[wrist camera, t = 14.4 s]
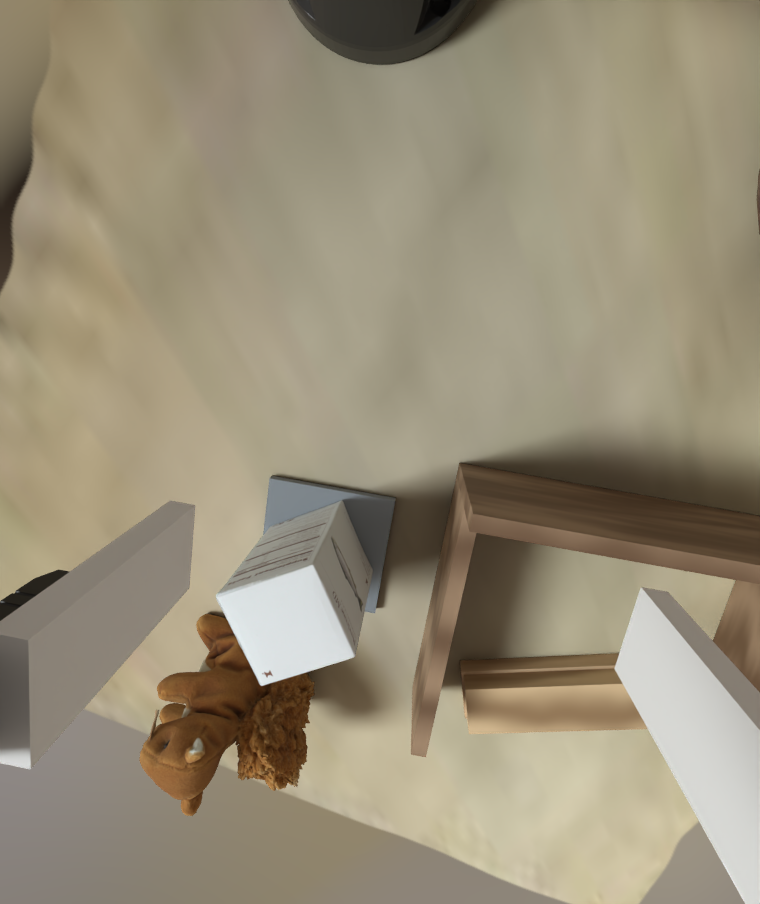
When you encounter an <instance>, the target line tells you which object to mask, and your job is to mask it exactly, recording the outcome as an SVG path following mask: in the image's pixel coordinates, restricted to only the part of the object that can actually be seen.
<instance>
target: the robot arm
mask: <svg viewBox="0 0 760 904" xmlns="http://www.w3.org/2000/svg"><path fill="white" fill-rule="evenodd" d="M288 1H289V3H290V5H291V7H292V9H293V10H294V12H295V14H296V15H297V17H298V18H299V20H300V21H301V23H302V24H303V25H304V26H305V28H306V29H307V30H308V31H309V32H310V33H311V34H312V35H313V36H314V37H315V38H316V39H317V40H318V41H319V42H320V43H322V44H323V45H324V46H326V47H327V48H329V49H330V50H332V51H333V52H335V53H337V54H339V55H341V56H343V57H345V58H348V59H351V60H354V61H357V62H362V63H367V64H393V63H399V62H403V61H407V60H410V59H413V58H415V57H418V56H420V55H422V54H424V53H426V52H428V51H430V50H431V49H433V48H434V47H436V46H437V45H439V44H440V43H441V42H443V41H444V40H445V39H446V38H448V37H449V36H450V35H451V34H452V33H453V32H454V31H455V30H456V29H457V28H458V27H459V25H460V24H461V23H462V22H463V21H464V19H465V18H466V17H467V15H468V14H469V13H470V11H471V10H472V8H473V7H474V5H475V3H476V1H477V0H288ZM194 516H195V505H191V504H186V503H180V502H175V501H169V502H168V503H166V504H165V505H163V506H162V507H160V508H159V509H158V510H156V511H155V512H153V513H152V514H151V515H149V516H148V517H146V518H145V519H144V520H142V521H141V522H139V523H138V524H136V525H135V526H134V527H132V528H131V529H129V530H128V531H127V532H125V533H124V534H122V535H121V536H120V537H118V538H117V539H115V540H114V541H113V542H111V543H110V544H108V545H107V546H105V547H104V548H103V549H101V550H100V551H98V552H97V553H96V554H94V555H93V556H91V557H90V558H89V559H87V560H86V561H84V562H83V563H81V564H80V565H79V566H77V567H76V568H74V569H73V570H72V571H70V572H68V571H63V570H56V571H54V572H51V573H48V574H46V575H43V576H40V577H37V578H35V579H33V580H31V581H30V582H28V583H27V584H25V585H24V586H22V587H21V588H19V589H18V590H16V592H15V594H13V593H12V594H10V595H9V596H7V597H6V598H4V599H3V600H1V601H0V763H2V764H7V765H12V766H18V767H22V768H27V769H31V768H32V767H33V766H34V765H35V764H36V763H37V761H38V760H39V759H40V758H41V757H42V756H43V755H44V753H45V752H46V751H47V750H48V749H49V748H50V747H51V745H52V744H53V743H54V742H55V741H56V740H57V739H58V737H59V736H60V735H61V734H62V733H63V732H64V731H65V729H66V728H67V727H68V726H69V725H70V724H71V723H72V721H73V720H74V719H75V718H76V717H77V716H78V715H79V713H80V712H81V711H82V710H83V709H84V708H85V707H86V705H87V704H88V703H89V702H90V701H91V700H92V699H93V697H94V696H95V695H96V694H97V693H98V692H99V691H100V689H101V688H102V687H103V686H104V685H105V684H106V683H107V681H108V680H109V679H110V678H111V677H112V676H113V675H114V673H115V672H116V671H117V670H118V669H119V668H120V667H121V665H122V664H123V663H124V662H125V661H126V660H127V659H128V657H129V656H130V655H131V654H132V653H133V652H134V651H135V649H136V648H137V647H138V646H139V645H140V644H141V643H142V641H143V640H144V639H145V638H146V637H147V636H148V635H149V633H150V632H151V631H152V630H153V629H154V628H155V627H156V625H157V624H158V623H159V622H160V621H161V620H162V619H163V617H164V616H165V615H166V614H167V613H168V612H169V611H170V609H171V608H172V607H173V606H174V605H175V604H176V603H177V601H178V600H179V599H180V598H181V597H182V596H183V595H184V593H185V592H186V591H187V590H188V589H189V585H190V571H191V557H192V544H193V530H194ZM614 669H615V671H616V672H617V674H618V676H619V678H620V680H621V681H622V683H623V685H624V687H625V689H626V690H627V692H628V694H629V696H630V698H631V699H632V701H633V703H634V705H635V707H636V708H637V710H638V712H639V714H640V716H641V717H642V719H643V721H644V723H645V725H646V726H647V728H648V730H649V732H650V734H651V735H652V737H653V739H654V741H655V743H656V744H657V746H658V748H659V750H660V751H661V753H662V755H663V757H664V759H665V760H666V762H667V764H668V766H669V768H670V769H671V771H672V773H673V775H674V777H675V778H676V780H677V782H678V784H679V786H680V787H681V789H682V791H683V793H684V795H685V796H686V798H687V800H688V802H689V804H690V805H691V807H692V809H693V811H694V813H695V814H696V816H697V818H698V820H699V822H700V823H701V825H702V827H703V829H704V831H705V832H706V834H707V836H708V838H709V839H710V841H711V843H712V845H713V847H714V849H715V850H716V852H717V854H718V856H719V857H720V859H721V861H722V863H723V865H724V866H725V868H726V870H727V872H728V874H729V876H730V877H731V879H732V881H733V883H734V884H735V886H736V888H737V890H738V892H739V893H740V895H741V897H742V899H743V900H744V902H745V904H760V692H759V691H758V690H757V689H756V688H755V687H754V686H753V685H752V684H751V682H750V681H749V680H748V679H747V678H746V677H745V676H744V675H743V674H742V673H741V671H740V670H739V669H738V668H737V667H736V666H735V665H734V664H733V663H732V662H731V661H730V659H729V658H728V657H727V656H726V655H725V654H724V653H723V652H722V651H721V650H720V648H719V647H718V646H717V645H716V644H715V643H714V642H713V641H712V640H711V639H710V638H709V636H708V635H707V634H706V633H705V632H704V631H703V630H702V629H701V628H700V627H699V625H698V624H697V623H696V622H695V621H694V620H693V619H692V618H691V617H690V616H689V614H688V613H687V612H686V611H685V610H684V609H683V608H682V607H681V606H680V605H679V604H678V602H677V601H676V600H675V599H674V598H673V597H672V596H671V595H670V594H669V593H668V592H665V591H660V590H655V589H649V588H644V587H641V589H640V592H639V595H638V598H637V601H636V604H635V607H634V610H633V613H632V616H631V619H630V622H629V625H628V628H627V631H626V635H625V638H624V641H623V644H622V647H621V650H620V653H619V656H618V659H617V662H616V665H615V668H614Z"/></svg>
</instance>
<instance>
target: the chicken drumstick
mask: <svg viewBox="0 0 760 904" xmlns="http://www.w3.org/2000/svg"><path fill="white" fill-rule="evenodd" d="M757 208H758V222H759V234H760V171H759V176H758V190H757Z"/></svg>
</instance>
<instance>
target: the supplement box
mask: <svg viewBox="0 0 760 904" xmlns="http://www.w3.org/2000/svg"><path fill="white" fill-rule="evenodd" d="M372 573H373V569H372V567H371V565H370V563H369V561H368V559H367V557H366V555H365V553H364V551H363V548H362V546H361V544H360V542H359V539H358V537H357V535H356V532H355V530H354V527H353V525H352V523H351V520H350V518H349V515H348V513H347V510H346V508H345V505H344V502H343V501H339V502H337V503H334V504H331V505H328V506H326V507H323V508H320V509H317V510H314V511H312V512H309V513H306V514H303V515H300V516H298V517H295V518H292V519H289V520H286V521H284V522H281V523H278V524H275V525H273V526H271V527H270V528H269V529H268V530H267V531H266V533H265V534H264V535H263V536H262V538H261V539H260V540H259V541H258V543H257V544H256V545H255V547H254V548H253V549H252V550H251V552H250V553H249V554H248V556H247V557H246V558H245V559H244V561H243V562H242V563H241V565H240V566H239V567H238V569H237V570H236V571H235V573H234V574H233V575H232V576H231V578H230V579H229V580H228V582H227V583H226V584H225V585H224V586H223V588H222V589H221V590H220V591H219V592H218V593H217V594H216V599H217V601H218V603H219V605H220V607H221V609H222V611H223V613H224V614H225V616H226V619H227V621H228V622H229V624H230V626H231V628H232V630H233V632H234V634H235V636H236V638H237V640H238V643H239V645H240V647H241V648H242V650H243V652H244V654H245V656H246V658H247V660H248V662H249V664H250V666H251V668H252V670H253V672H254V674H255V675H256V677H257V679H258V682H259V684H260V685H261V686H264V685H267V684H270V683H273V682H276V681H280V680H283V679H286V678H289V677H293V676H296V675H299V674H303V673H306V672H309V671H312V670H316V669H319V668H322V667H325V666H329V665H332V664H335V663H338V662H342V661H345V660H348V659H351V658H353V657H355V656H356V650H357V645H358V640H359V635H360V631H361V626H362V621H363V616H364V611H365V607H366V602H367V597H368V593H369V588H370V583H371V578H372Z"/></svg>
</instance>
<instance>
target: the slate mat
mask: <svg viewBox="0 0 760 904" xmlns="http://www.w3.org/2000/svg"><path fill="white" fill-rule="evenodd" d="M339 501H343V502H344V505H345V508H346V510H347V513H348V515H349V518H350V520H351V523H352V525H353V527H354V530H355V532H356V535H357V537H358V539H359V542H360V544H361V546H362V548H363V551H364V553H365V555H366V557H367V559H368V561H369V563H370V565H371V567H372V569H373V573H372V578H371V583H370V588H369V593H368V597H367V602H366V607H365V612H371V613H375V610H376V605H377V599H378V594H379V588H380V582H381V577H382V571H383V566H384V560H385V555H386V549H387V543H388V538H389V532H390V527H391V521H392V516H393V510H394V504H395V498H394V497H388V496H382V495H377V494H371V493H366V492H360V491H355V490H349V489H344V488H338V487H332V486H327V485H321V484H316V483H310V482H305V481H299V480H293V479H288V478H282V477H277V476H271V477H270V479H269V488H268V497H267V506H266V515H265V524H264V533H263V535H264V534H265V533H266V531H267V530H268V529H269V528H270V527H271V526H273V525H275V524H278V523H281V522H284V521H286V520H289V519H292V518H295V517H298V516H300V515H303V514H306V513H309V512H312V511H314V510H317V509H320V508H323V507H326V506H328V505H331V504H334V503H337V502H339Z"/></svg>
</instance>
